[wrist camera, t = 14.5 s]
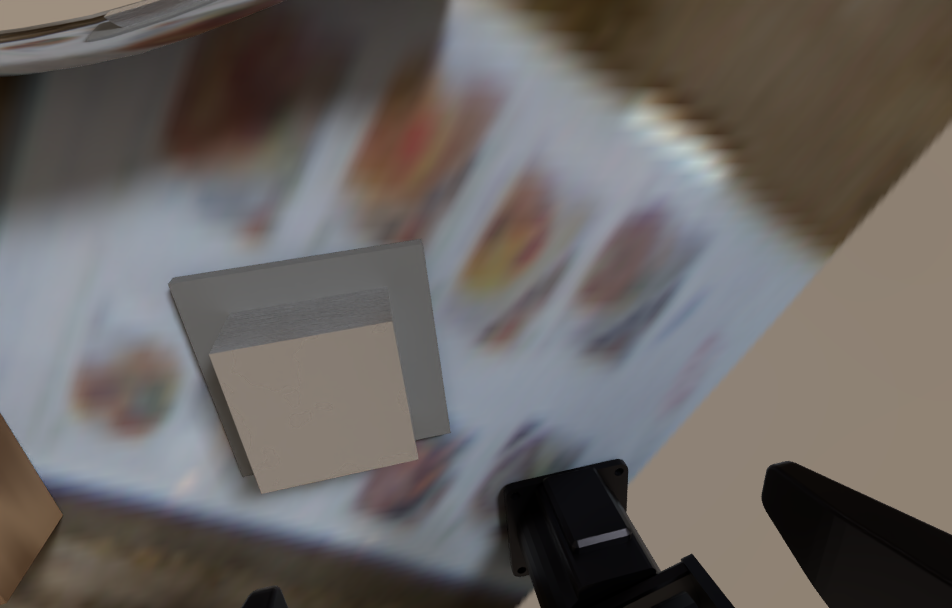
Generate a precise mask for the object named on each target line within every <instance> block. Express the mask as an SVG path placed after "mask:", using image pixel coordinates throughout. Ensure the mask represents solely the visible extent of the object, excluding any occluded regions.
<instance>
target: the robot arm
mask: <svg viewBox="0 0 952 608" xmlns="http://www.w3.org/2000/svg"><path fill="white" fill-rule="evenodd" d="M617 469H618V470H617ZM627 487H628V467H627V465H626V464H625V462H624V461H623V460H621V459H615V460H611V461H606V462H602V463H598V464H593V465H589V466H585V467H580V468H576V469H572V470H567V471H563V472H558V473H554V474H550V475H545V476H541V477H537V478H532V479H528V480H524V481H519V482H515V483H512V484H509V485H508V486H507V487H506V488H505V490H504V498H505V508H506V519H507V529H508V540H509V550H510V560H511V568H512V571H513V574H514V575H515V576H517V577H521V576H526V575H530V577H531V580H532V583H533V586H534V589H535V592H536V595H537V598H538V601H539V604H540V607H541V608H735V607H734V606H733V605H732V604H731V602H730V601H729V600H728V599H727V597H726V596H725V595H724V594H723V592H722V591H721V590H720V588H719V587H718V586H717V585H716V583H715V582H714V581H713V580H712V578H711V577H710V576H709V575H708V573H707V572H706V571H705V569H704V568H703V567H702V566H701V564H700V563H699V562H698V561H697V559H696V558H695V557H694V555H693V554H690V555H688V556H686V557H684V558H682V559H681V562H679V563H677V564H675V565H674V566H671V567H669V568H667V569H665V570H663V571H660V569H659V567H658V566H657V564H656V562H655V560H654V559H653V557H652V556H651V554H650V552H649V550H648V549H647V547H646V545H645V544H644V542H643V540H642V539H641V537H640V535H639V534H638V532H637V530H636V529H635V527H634V525H633V524H632V522H631V520H630V519H629V517H628V515H627V514H626V508H627ZM515 492H517V493H515ZM513 493H515V494H513ZM762 503H763V506H764V508H765V510H766V512H767V513H768V515H769V517H770V518H771V520H772V522H773V523H774V525H775V526H776V528H777V529H778V531H779V533H780V534H781V536H782V538H783V539H784V541H785V542H786V544H787V546H788V547H789V549H790V550H791V552H792V554H793V555H794V557H795V558H796V560H797V562H798V563H799V565H800V566H801V568H802V570H803V571H804V573H805V574H806V576H807V577H808V579H809V580H810V582H811V583H812V585H813V586H814V588H815V589H816V591H817V592H818V593H819V595H820V596H821V597H822V599H823V600H824V601H825V603H826V604H827V605H828V607H829V608H952V535H951V534H949V533H947V532H944V531H942V530H940V529H938V528H936V527H934V526H931V525H929V524H927V523H925V522H923V521H921V520H918V519H916V518H914V517H912V516H910V515H907V514H905V513H903V512H901V511H899V510H897V509H894V508H892V507H890V506H888V505H886V504H883V503H881V502H879V501H877V500H875V499H873V498H871V497H868V496H866V495H864V494H862V493H860V492H858V491H855V490H853V489H851V488H849V487H846V486H844V485H842V484H840V483H838V482H836V481H834V480H831V479H829V478H827V477H825V476H823V475H821V474H818V473H816V472H814V471H812V470H810V469H808V468H805V467H803V466H801V465H799V464H797V463H794V462H790V461H785V462H781V463H777V464H773V465H770V466H769V467H768V468H767V471H766V475H765V480H764V485H763V490H762ZM241 608H288V606H287V604H286V601H285V599H284V596H283V594H282V591H281V589H280V588H279V587H278V586H270V587H266V588H262V589H258V590H255V591H253V592H252V593H251V594H250V595H249V596H248V598H247V599H246V601H245V603H244V604H243V606H242V607H241Z"/></svg>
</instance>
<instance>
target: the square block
mask: <svg viewBox="0 0 952 608" xmlns="http://www.w3.org/2000/svg"><path fill="white" fill-rule="evenodd" d="M209 356H210V359H211V361H212V364H213V367H214V369H215V372H216V375H217V377H218V380H219V383H220V385H221V388H222V391H223V393H224V396H225V399H226V401H227V404H228V406H229V409H230V412H231V414H232V417H233V420H234V422H235V425H236V428H237V430H238V433H239V436H240V438H241V441H242V444H243V446H244V449H245V451H246V454H247V457H248V459H249V462H250V465H251V467H252V470H253V473H254V475H255V478H256V481H257V483H258V486H259V489H260V491H261V494H263V493H268V492H272V491H277V490H281V489H286V488H291V487H295V486H300V485H304V484H309V483H313V482H318V481H322V480H327V479H331V478H336V477H341V476H345V475H350V474H354V473H359V472H363V471H368V470H372V469H377V468H382V467H386V466H391V465H395V464H400V463H404V462H409V461H413V460H418V454H417V447H416V441H415V435H414V428H413V422H412V416H411V410H410V404H409V399H408V394H407V388H406V383H405V378H404V373H403V367H402V362H401V357H400V351H399V346H398V341H397V335H396V330H395V325H394V319H393V314H392V309H391V303H390V298H389V293H388V288H387V287H381V288H375V289H370V290H364V291H358V292H352V293H346V294H340V295H334V296H329V297H323V298H317V299H311V300H305V301H299V302H293V303H288V304H282V305H276V306H270V307H264V308H258V309H252V310H247V311H241V312H235V313H229V315H228V317H227V319H226V321H225V323H224V325H223V327H222V329H221V331H220V333H219V335H218V337H217V339H216V341H215V343H214V345H213V347H212V349H211V351H210V353H209Z"/></svg>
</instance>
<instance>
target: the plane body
mask: <svg viewBox="0 0 952 608" xmlns="http://www.w3.org/2000/svg"><path fill="white" fill-rule="evenodd" d="M62 516H63V514H62V513H61V511H60V510H59V508H58V506H57V505H56V503H55V501H54V500H53V498H52V497H51V495H50V493H49V492H48V490H47V488H46V487H45V485H44V484H43V482H42V480H41V479H40V477H39V475H38V474H37V472H36V471H35V469H34V467H33V466H32V464H31V462H30V461H29V459H28V458H27V456H26V454H25V453H24V451H23V449H22V448H21V446H20V445H19V443H18V441H17V440H16V438H15V436H14V435H13V433H12V432H11V430H10V428H9V427H8V425H7V423H6V422H5V420H4V419H3V417H2V415H1V414H0V605H1V604H5V603H7V601H8V600H9V598H10V597H11V595H12V594H13V592H14V591H15V589H16V587H17V586H18V584H19V583H20V581H21V580H22V578H23V577H24V575H25V573H26V572H27V570H28V569H29V567H30V566H31V564H32V563H33V561H34V559H35V558H36V556H37V555H38V553H39V552H40V550H41V548H42V547H43V545H44V544H45V542H46V541H47V539H48V538H49V536H50V534H51V533H52V531H53V530H54V528H55V527H56V525H57V524H58V522H59V520H60V519H61V517H62Z"/></svg>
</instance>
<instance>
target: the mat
mask: <svg viewBox="0 0 952 608" xmlns="http://www.w3.org/2000/svg"><path fill="white" fill-rule="evenodd" d="M168 285H169V288H170V290H171V293H172V296H173V298H174V301H175V303H176V306H177V308H178V311H179V314H180V316H181V319H182V321H183V324H184V327H185V329H186V332H187V334H188V337H189V339H190V342H191V345H192V347H193V350H194V352H195V355H196V358H197V360H198V363H199V365H200V368H201V370H202V373H203V376H204V378H205V381H206V383H207V386H208V389H209V391H210V394H211V396H212V399H213V401H214V404H215V407H216V409H217V412H218V414H219V417H220V420H221V422H222V425H223V427H224V430H225V432H226V435H227V438H228V440H229V443H230V445H231V448H232V450H233V453H234V456H235V458H236V461H237V463H238V466H239V469H240V471H241V474H242V476H243V477H244V476H249V475H254V473H253V470H252V467H251V465H250V462H249V459H248V457H247V454H246V451H245V449H244V446H243V444H242V441H241V438H240V436H239V433H238V430H237V428H236V425H235V422H234V420H233V417H232V414H231V412H230V409H229V406H228V404H227V401H226V399H225V396H224V393H223V391H222V388H221V385H220V383H219V380H218V377H217V375H216V372H215V369H214V367H213V364H212V361H211V359H210V356H209V353H210V351H211V349H212V347H213V345H214V343H215V341H216V339H217V337H218V335H219V333H220V331H221V329H222V327H223V325H224V323H225V321H226V319H227V317H228V315H229V313H235V312H241V311H247V310H252V309H258V308H264V307H270V306H276V305H282V304H288V303H293V302H299V301H305V300H311V299H317V298H323V297H329V296H334V295H340V294H346V293H352V292H358V291H364V290H370V289H375V288H381V287H387V288H388V293H389V298H390V303H391V309H392V314H393V319H394V325H395V330H396V335H397V341H398V346H399V351H400V357H401V362H402V367H403V373H404V378H405V383H406V388H407V394H408V399H409V404H410V410H411V416H412V422H413V428H414V435H415V440H419V439H423V438H428V437H433V436H438V435H442V434H447V433H450V426H449V419H448V412H447V405H446V399H445V392H444V385H443V378H442V371H441V365H440V358H439V351H438V344H437V337H436V330H435V324H434V317H433V310H432V303H431V296H430V290H429V283H428V276H427V269H426V262H425V255H424V249H423V243H422V240H421V239H418V240H412V241H405V242H399V243H392V244H386V245H380V246H373V247H367V248H360V249H354V250H348V251H341V252H335V253H329V254H322V255H316V256H309V257H303V258H297V259H290V260H284V261H277V262H271V263H265V264H258V265H252V266H246V267H239V268H233V269H226V270H220V271H214V272H207V273H201V274H194V275H188V276H182V277H175V278H173V279H172V280H171V281H170V282H169V284H168Z"/></svg>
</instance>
